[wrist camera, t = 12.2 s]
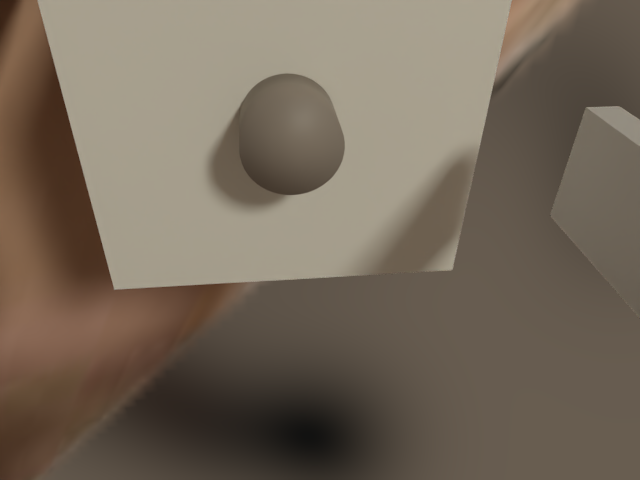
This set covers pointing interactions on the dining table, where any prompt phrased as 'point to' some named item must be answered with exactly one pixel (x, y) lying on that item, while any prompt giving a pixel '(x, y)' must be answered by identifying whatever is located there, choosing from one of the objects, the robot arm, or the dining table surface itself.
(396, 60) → the cover
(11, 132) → the dining table surface
